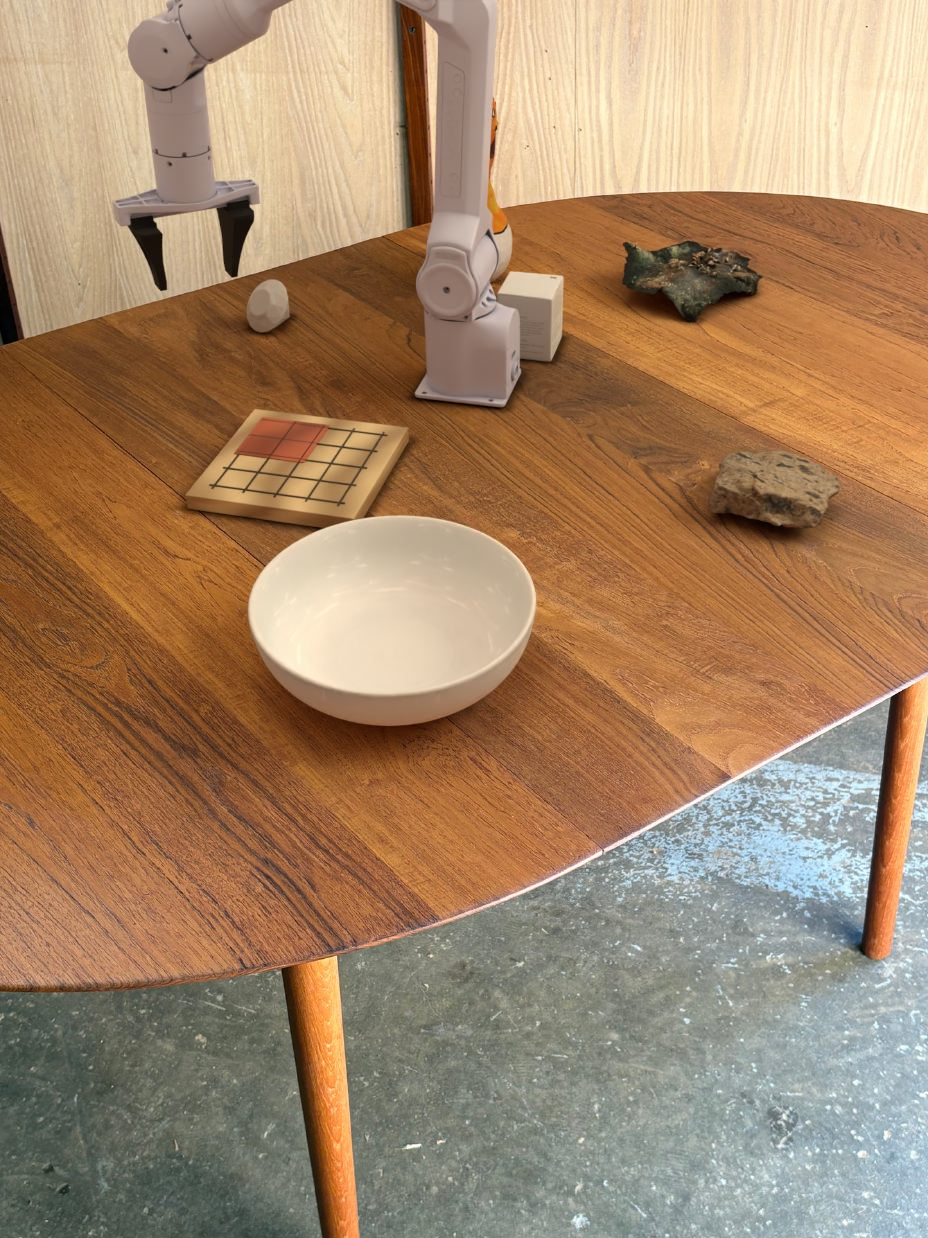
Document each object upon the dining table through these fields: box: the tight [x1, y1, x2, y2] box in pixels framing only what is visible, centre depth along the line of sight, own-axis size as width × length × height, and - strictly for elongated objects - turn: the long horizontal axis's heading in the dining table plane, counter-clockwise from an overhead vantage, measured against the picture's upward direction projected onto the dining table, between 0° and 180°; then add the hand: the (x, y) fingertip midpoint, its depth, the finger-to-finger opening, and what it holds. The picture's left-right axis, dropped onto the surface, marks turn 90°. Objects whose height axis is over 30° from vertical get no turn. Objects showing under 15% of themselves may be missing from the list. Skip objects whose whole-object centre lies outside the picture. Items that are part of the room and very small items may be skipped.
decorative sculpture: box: [487, 97, 513, 284], centre depth 138 cm, size 20×8×30 cm, turn 174°
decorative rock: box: [621, 240, 764, 322], centre depth 144 cm, size 19×6×15 cm
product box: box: [496, 271, 565, 362], centre depth 131 cm, size 6×6×7 cm
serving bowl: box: [247, 515, 537, 727], centre depth 90 cm, size 21×21×7 cm
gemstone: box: [246, 278, 291, 334], centre depth 138 cm, size 6×6×5 cm
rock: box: [707, 450, 843, 530], centre depth 107 cm, size 11×11×4 cm
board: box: [184, 408, 410, 529], centre depth 114 cm, size 16×16×2 cm
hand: (196, 280), depth 127 cm, fingers open, 7 cm apart
